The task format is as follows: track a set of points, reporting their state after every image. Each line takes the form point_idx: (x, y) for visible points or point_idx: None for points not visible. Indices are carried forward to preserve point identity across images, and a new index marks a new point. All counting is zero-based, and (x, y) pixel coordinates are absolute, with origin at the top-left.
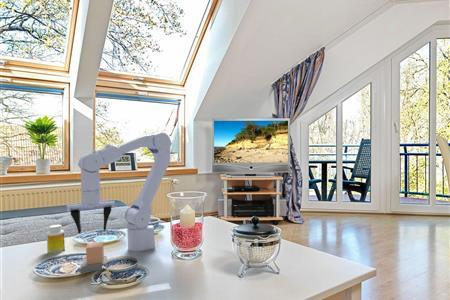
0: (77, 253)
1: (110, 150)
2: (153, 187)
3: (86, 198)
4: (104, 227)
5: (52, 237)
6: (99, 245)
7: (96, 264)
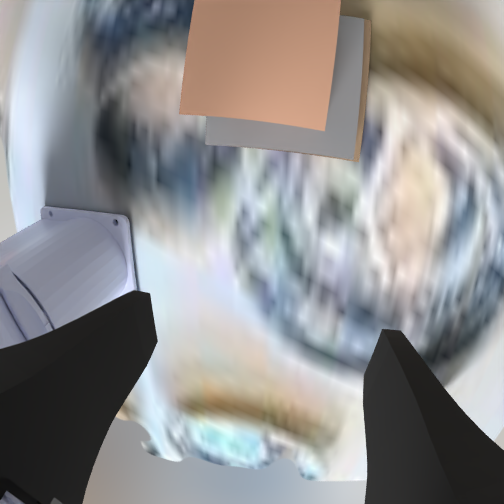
0: (344, 370)
1: None
2: None
3: None
4: (123, 301)
5: None
6: (216, 14)
7: None
